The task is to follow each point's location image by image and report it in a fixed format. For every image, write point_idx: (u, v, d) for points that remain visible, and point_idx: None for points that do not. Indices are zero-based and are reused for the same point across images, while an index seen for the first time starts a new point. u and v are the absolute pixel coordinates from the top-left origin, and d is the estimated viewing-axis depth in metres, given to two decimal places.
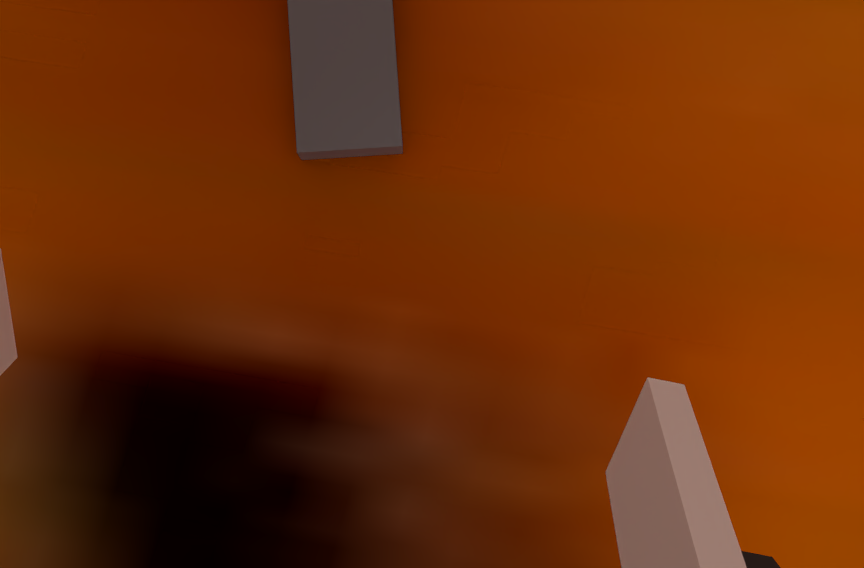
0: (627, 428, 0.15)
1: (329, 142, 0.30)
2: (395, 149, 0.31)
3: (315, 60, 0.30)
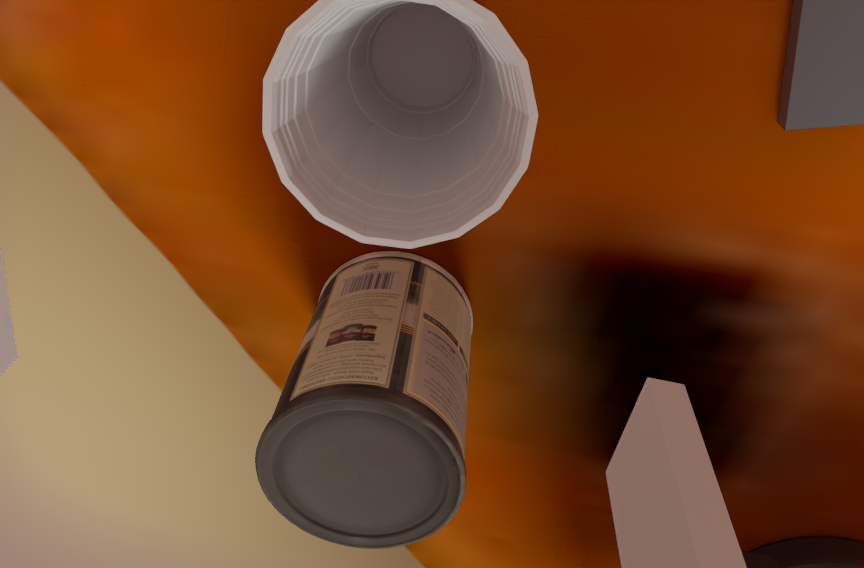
0: (627, 428, 0.15)
1: (814, 121, 0.37)
2: None
3: (817, 52, 0.35)
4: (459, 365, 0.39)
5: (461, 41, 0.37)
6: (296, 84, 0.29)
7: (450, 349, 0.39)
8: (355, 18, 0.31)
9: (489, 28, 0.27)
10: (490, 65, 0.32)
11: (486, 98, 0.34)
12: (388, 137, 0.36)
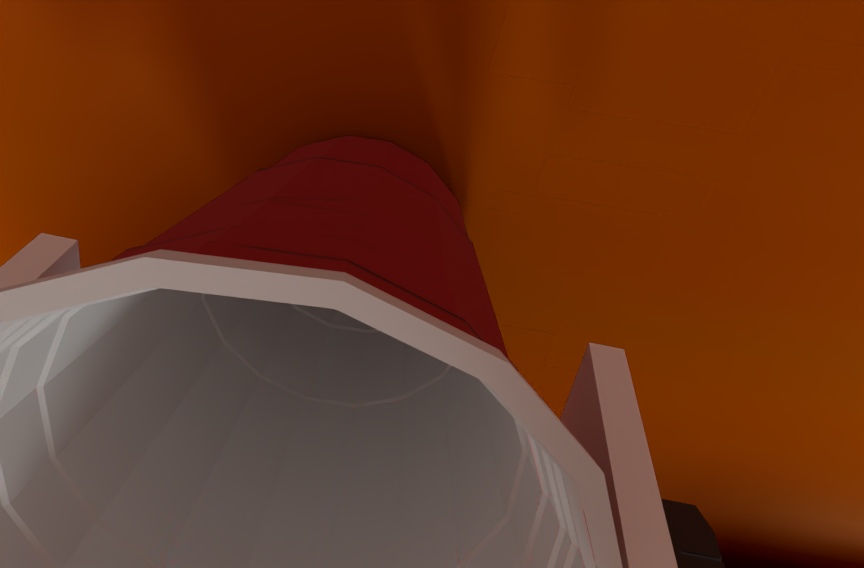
0: (572, 392, 0.16)
1: None
2: None
3: None
4: None
5: None
6: None
7: None
8: None
9: (491, 390, 0.09)
10: None
11: None
12: (289, 408, 0.18)
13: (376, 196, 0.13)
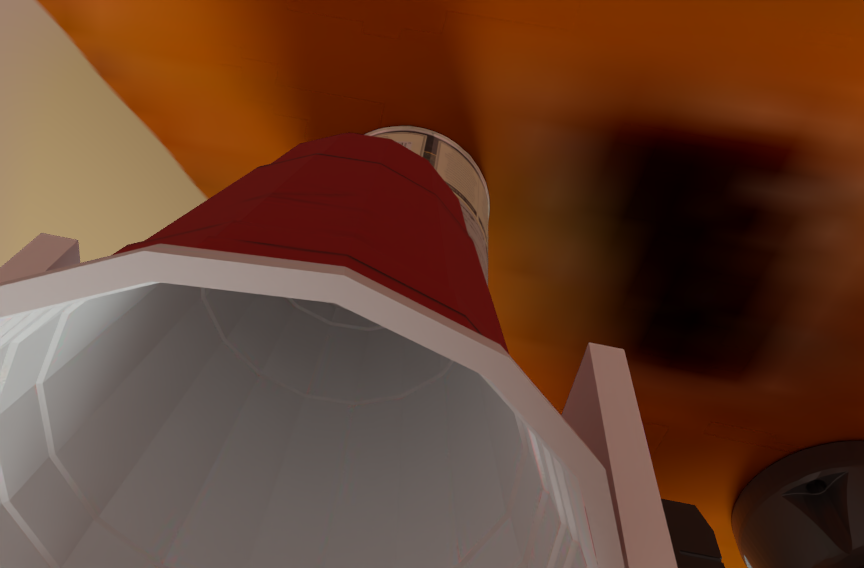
0: (572, 392, 0.16)
1: None
2: None
3: None
4: (479, 233, 0.36)
5: None
6: None
7: (469, 215, 0.36)
8: None
9: (492, 384, 0.09)
10: None
11: None
12: (289, 406, 0.18)
13: (377, 192, 0.13)
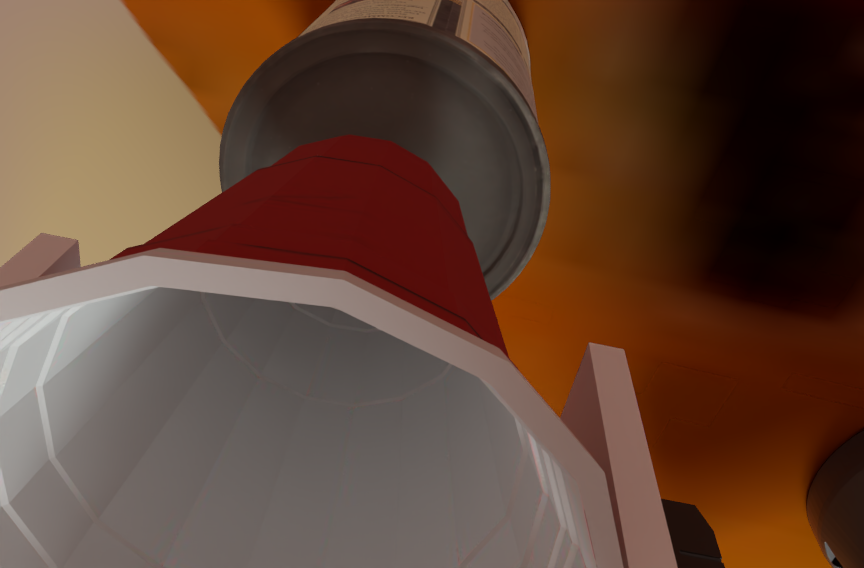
0: (572, 392, 0.16)
1: None
2: None
3: None
4: (526, 72, 0.26)
5: None
6: None
7: (514, 46, 0.26)
8: None
9: (491, 389, 0.09)
10: None
11: None
12: (289, 408, 0.18)
13: (376, 195, 0.13)
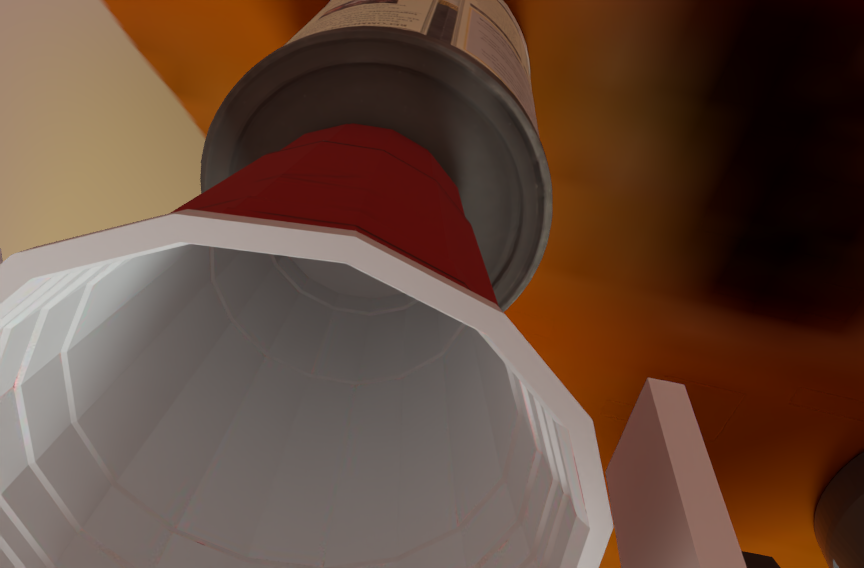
0: (627, 428, 0.15)
1: None
2: None
3: None
4: (526, 81, 0.25)
5: None
6: (23, 401, 0.12)
7: (513, 53, 0.25)
8: None
9: (488, 341, 0.09)
10: None
11: (480, 344, 0.17)
12: (295, 385, 0.19)
13: (381, 175, 0.14)
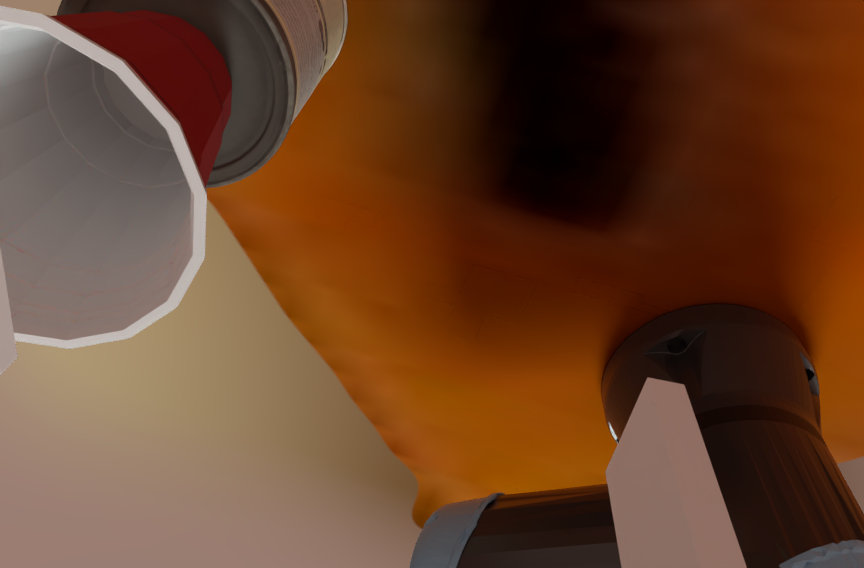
0: (627, 428, 0.15)
1: None
2: None
3: None
4: (310, 1, 0.35)
5: None
6: None
7: None
8: (5, 41, 0.23)
9: (121, 78, 0.19)
10: None
11: None
12: (106, 184, 0.29)
13: (128, 25, 0.24)
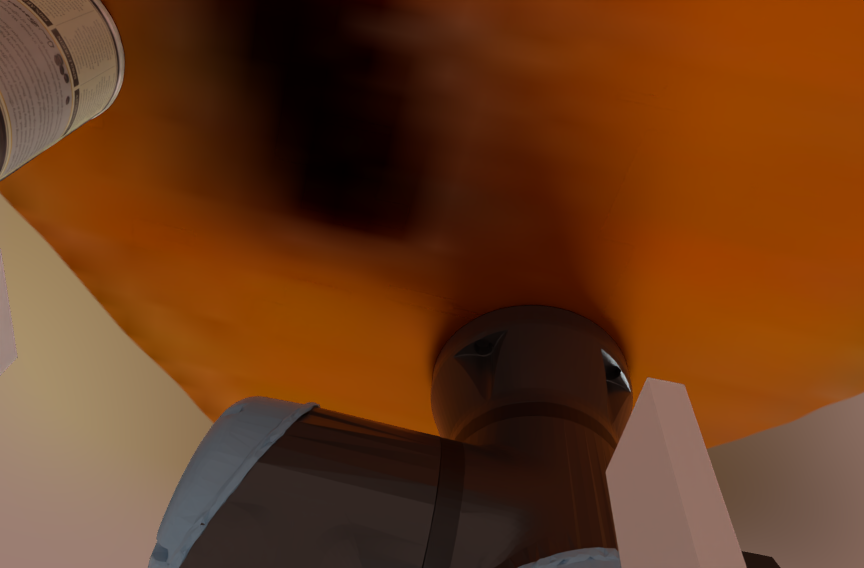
0: (627, 428, 0.15)
1: None
2: None
3: None
4: (41, 38, 0.37)
5: None
6: None
7: (30, 19, 0.37)
8: None
9: None
10: None
11: None
12: None
13: None
